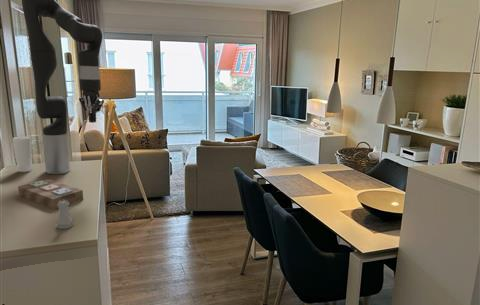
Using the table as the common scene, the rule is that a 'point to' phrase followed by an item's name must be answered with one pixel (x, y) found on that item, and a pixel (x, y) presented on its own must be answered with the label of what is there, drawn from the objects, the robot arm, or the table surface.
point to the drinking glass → (23, 153)
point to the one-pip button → (49, 187)
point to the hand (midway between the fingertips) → (92, 122)
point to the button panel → (50, 194)
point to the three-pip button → (38, 184)
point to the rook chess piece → (64, 215)
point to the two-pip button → (61, 191)
